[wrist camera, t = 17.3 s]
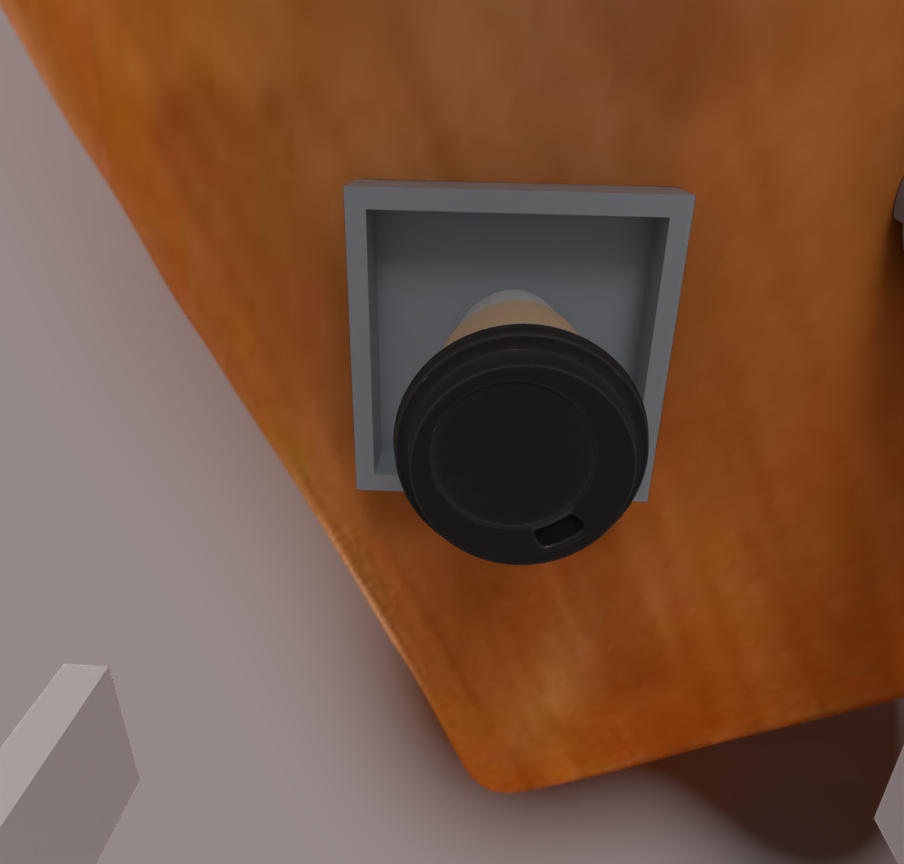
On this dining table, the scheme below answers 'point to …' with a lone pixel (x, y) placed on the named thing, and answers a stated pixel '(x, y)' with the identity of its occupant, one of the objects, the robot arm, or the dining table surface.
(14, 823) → the robot arm
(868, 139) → the dining table surface
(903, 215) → the blender
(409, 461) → the coffee cup
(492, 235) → the tray
